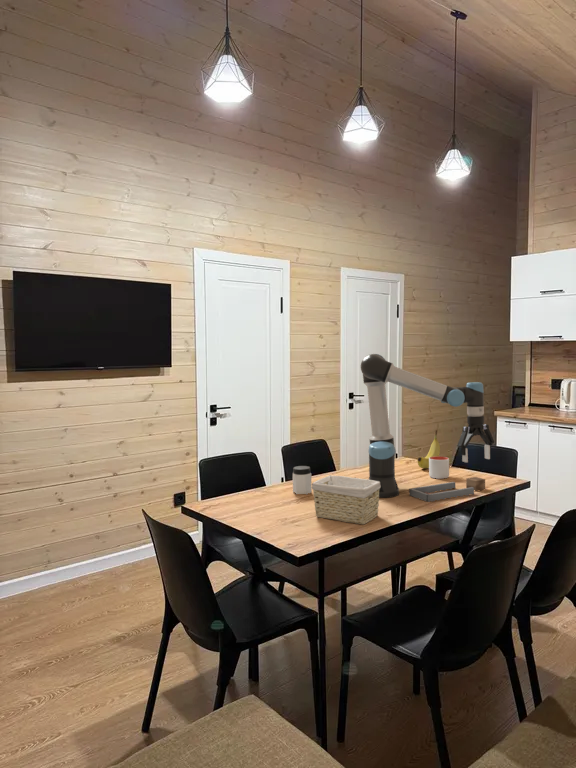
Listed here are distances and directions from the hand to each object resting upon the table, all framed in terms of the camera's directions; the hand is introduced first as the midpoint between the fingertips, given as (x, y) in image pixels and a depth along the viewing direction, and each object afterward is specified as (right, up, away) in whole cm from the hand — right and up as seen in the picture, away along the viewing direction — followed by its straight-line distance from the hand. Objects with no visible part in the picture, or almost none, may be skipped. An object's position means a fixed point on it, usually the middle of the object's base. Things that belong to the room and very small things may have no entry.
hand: (476, 460), depth 266 cm
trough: (-19, -15, -8) cm, 25 cm away
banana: (-10, -11, +51) cm, 53 cm away
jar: (-82, -16, +3) cm, 83 cm away
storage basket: (-65, -18, -38) cm, 77 cm away
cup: (-10, -13, +27) cm, 31 cm away
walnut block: (0, -14, +1) cm, 14 cm away
